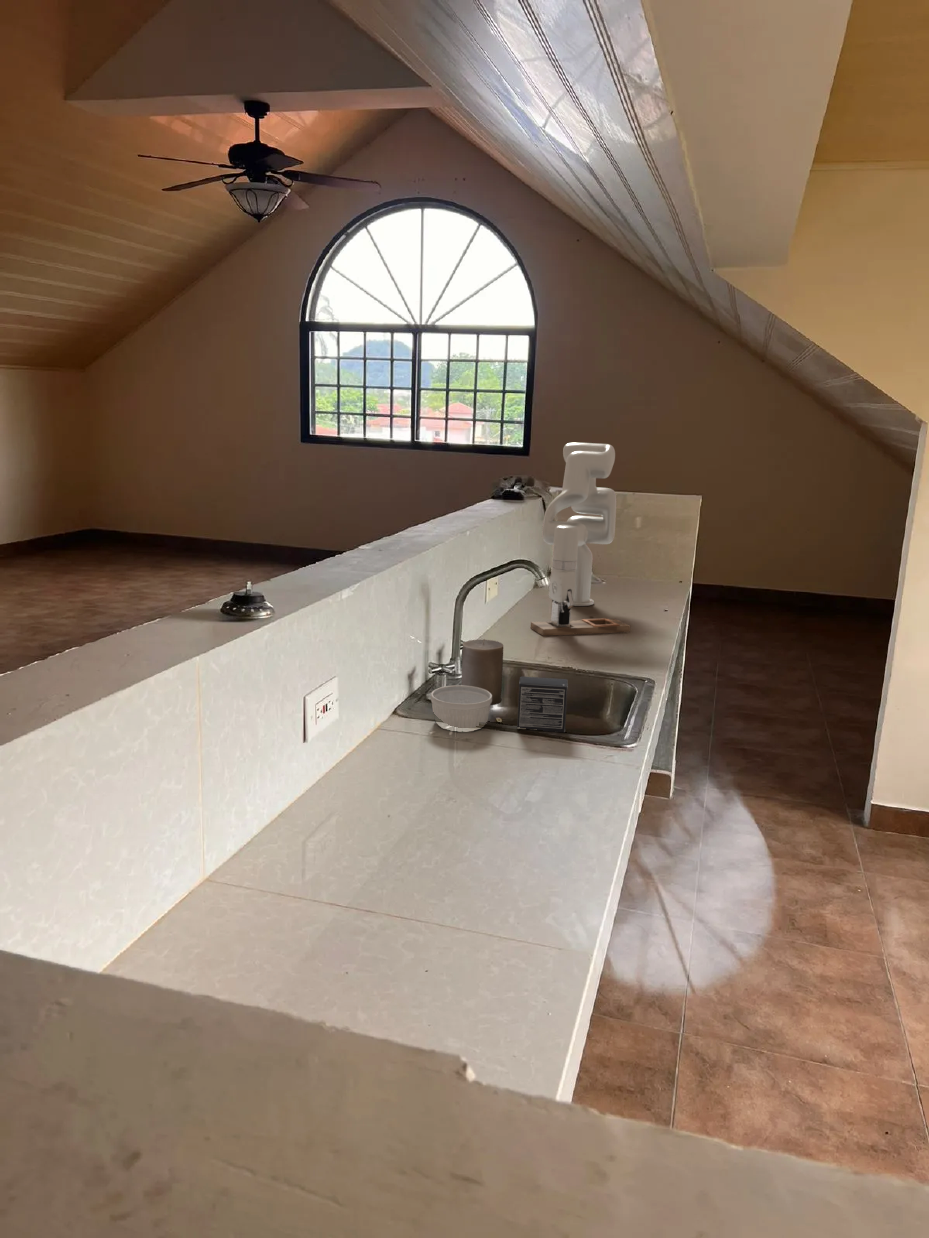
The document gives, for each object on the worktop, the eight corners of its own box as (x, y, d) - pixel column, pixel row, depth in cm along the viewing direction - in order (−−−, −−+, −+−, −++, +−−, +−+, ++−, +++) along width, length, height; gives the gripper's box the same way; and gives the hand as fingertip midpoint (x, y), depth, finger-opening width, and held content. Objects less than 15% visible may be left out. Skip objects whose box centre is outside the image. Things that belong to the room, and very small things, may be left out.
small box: (565, 723, 201) (568, 677, 198) (565, 733, 194) (568, 686, 192) (517, 719, 202) (520, 674, 199) (516, 729, 195) (518, 683, 193)
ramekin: (437, 736, 189) (439, 705, 188) (423, 716, 202) (424, 686, 200) (498, 733, 193) (499, 702, 191) (480, 713, 205) (482, 683, 204)
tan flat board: (530, 628, 288) (530, 620, 287) (615, 624, 297) (615, 617, 296) (542, 635, 278) (543, 628, 278) (629, 632, 288) (630, 624, 287)
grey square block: (550, 629, 287) (552, 601, 285) (563, 628, 288) (565, 601, 286) (556, 632, 283) (558, 604, 281) (569, 632, 284) (571, 604, 282)
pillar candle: (508, 698, 216) (511, 637, 213) (488, 709, 208) (491, 645, 204) (473, 691, 221) (475, 631, 217) (452, 701, 212) (454, 639, 209)
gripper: (542, 560, 287) (539, 616, 291) (564, 570, 272) (560, 629, 276) (564, 560, 290) (560, 616, 294) (587, 569, 274) (582, 628, 278)
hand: (560, 621), depth 285 cm, fingers closed on grey square block, 4 cm apart
